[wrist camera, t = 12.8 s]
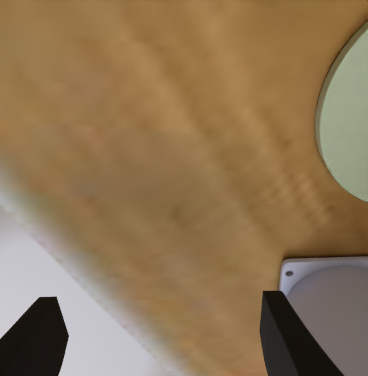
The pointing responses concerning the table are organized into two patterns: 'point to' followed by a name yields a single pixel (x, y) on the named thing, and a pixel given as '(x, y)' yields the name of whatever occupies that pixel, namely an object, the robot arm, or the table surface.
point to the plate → (346, 117)
